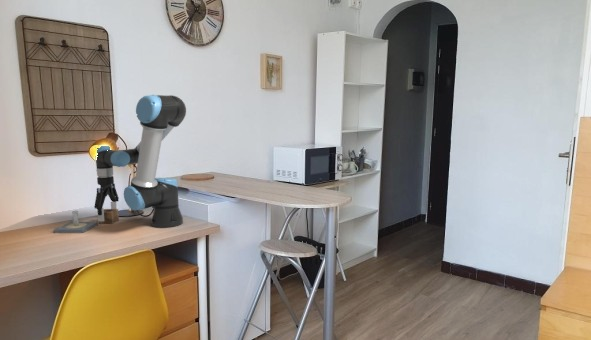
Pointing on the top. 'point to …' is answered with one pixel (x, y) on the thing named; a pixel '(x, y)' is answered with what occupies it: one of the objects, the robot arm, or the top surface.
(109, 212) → the collar
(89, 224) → the post block
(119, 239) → the top surface
